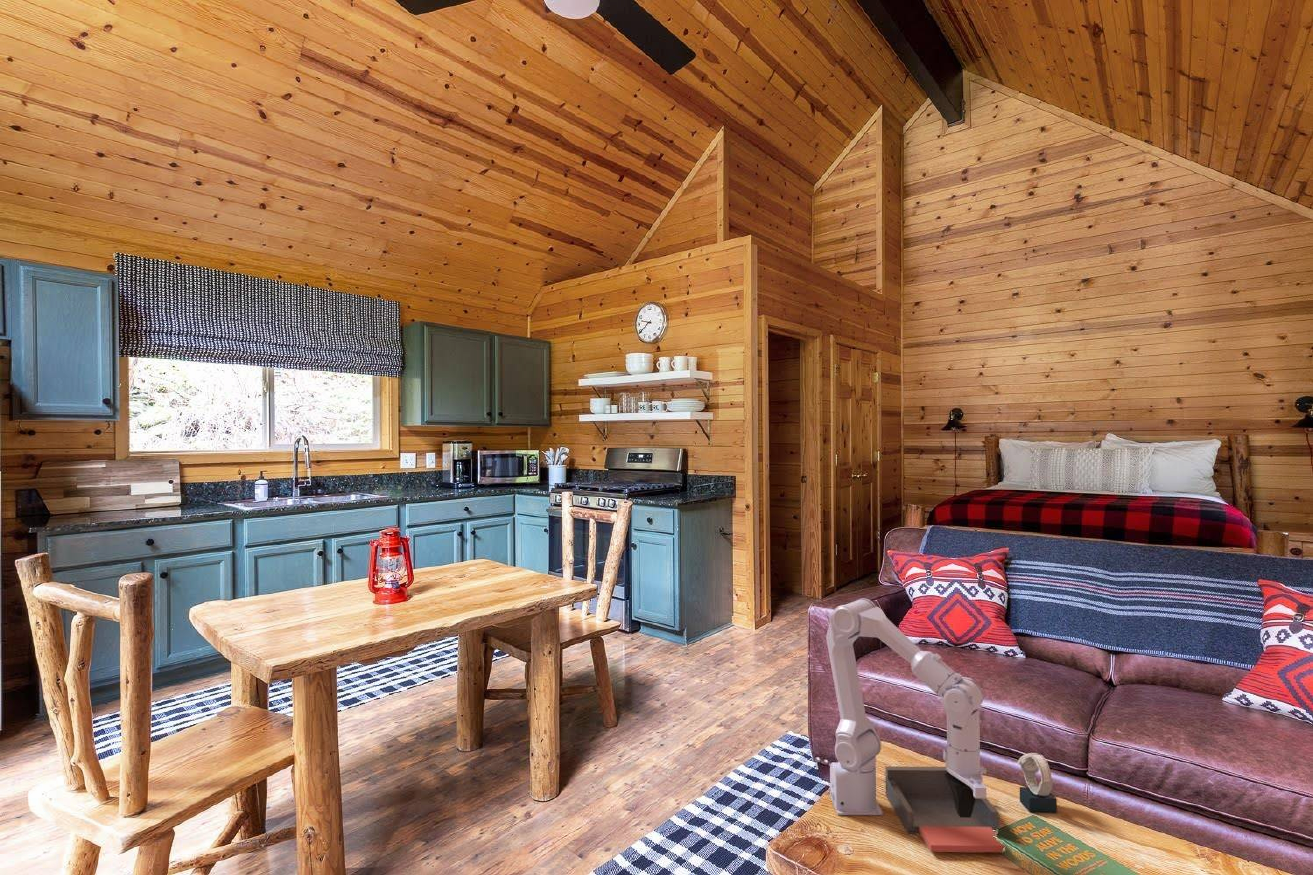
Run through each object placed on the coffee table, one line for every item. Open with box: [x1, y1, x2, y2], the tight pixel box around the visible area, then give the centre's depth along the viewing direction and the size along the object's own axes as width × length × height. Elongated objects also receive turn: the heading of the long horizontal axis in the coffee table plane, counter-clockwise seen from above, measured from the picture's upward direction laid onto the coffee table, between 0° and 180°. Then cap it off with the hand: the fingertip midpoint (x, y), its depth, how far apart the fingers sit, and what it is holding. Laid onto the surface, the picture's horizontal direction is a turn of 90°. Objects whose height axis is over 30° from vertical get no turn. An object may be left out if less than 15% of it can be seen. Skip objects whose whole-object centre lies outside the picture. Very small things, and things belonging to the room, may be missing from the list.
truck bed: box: [884, 765, 1000, 835], centre depth 137 cm, size 18×14×6 cm
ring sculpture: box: [1017, 752, 1058, 814], centre depth 139 cm, size 6×8×11 cm
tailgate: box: [919, 826, 1006, 854], centre depth 126 cm, size 14×2×6 cm
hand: (964, 815), depth 125 cm, fingers closed
